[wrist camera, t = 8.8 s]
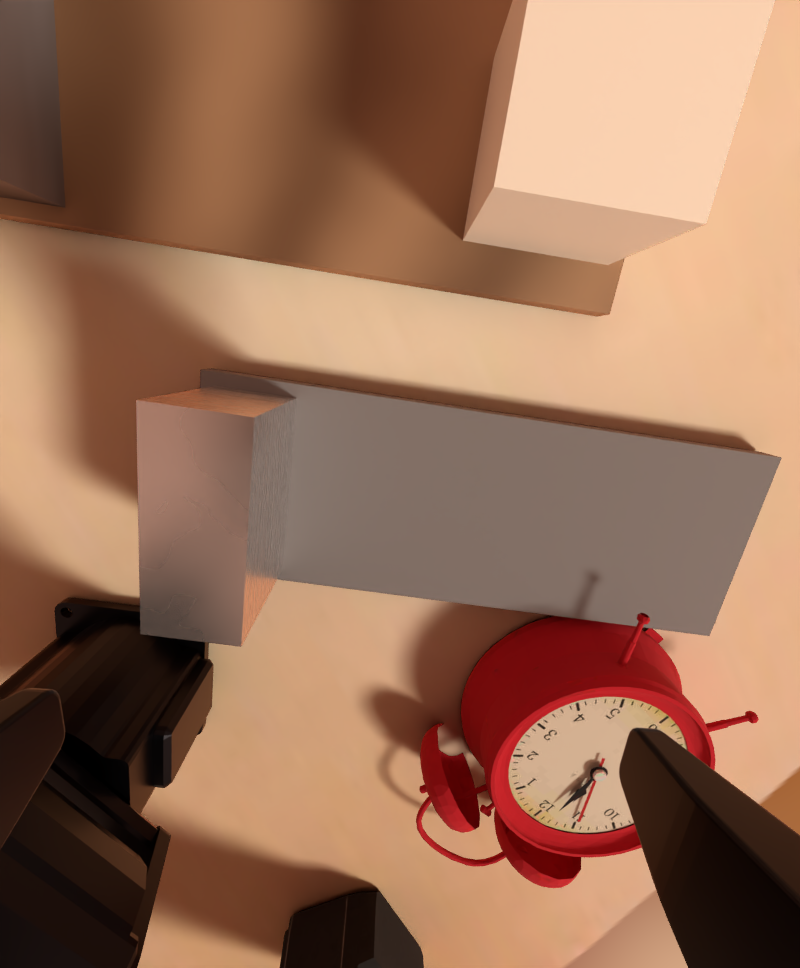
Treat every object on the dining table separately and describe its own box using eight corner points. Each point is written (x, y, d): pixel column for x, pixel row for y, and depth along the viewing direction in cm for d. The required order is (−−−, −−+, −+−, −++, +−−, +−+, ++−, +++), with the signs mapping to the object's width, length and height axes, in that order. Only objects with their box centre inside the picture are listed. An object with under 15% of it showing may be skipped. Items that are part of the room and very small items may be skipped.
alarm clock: (801, 742, 18) (565, 1029, 18) (681, 663, 24) (505, 876, 24) (634, 591, 16) (367, 914, 16) (550, 547, 22) (357, 779, 22)
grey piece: (206, 557, 19) (123, 646, 13) (211, 368, 17) (115, 377, 11) (694, 622, 20) (812, 730, 14) (760, 452, 18) (933, 499, 12)
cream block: (462, 240, 15) (493, 186, 10) (494, 57, 13) (547, -107, 9) (607, 265, 15) (706, 224, 10) (653, 87, 14) (793, -57, 9)
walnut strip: (-17, 215, 15) (-264, 134, 10) (-48, -86, 13) (-394, -427, 7) (597, 316, 16) (705, 296, 11) (665, 52, 14) (848, -153, 8)
